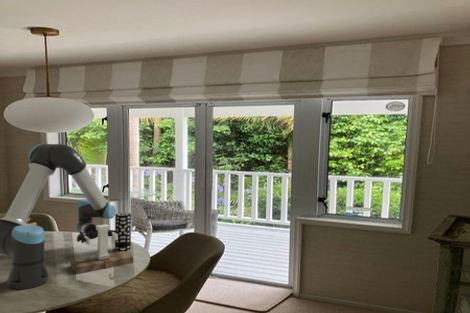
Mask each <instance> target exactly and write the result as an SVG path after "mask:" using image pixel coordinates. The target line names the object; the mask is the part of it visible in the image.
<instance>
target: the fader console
mask: <svg viewBox="0 0 470 313" xmlns="http://www.w3.org/2000/svg"><path fill="white" fill-rule="evenodd" d="M108 254H109V255H110V258H108V259H103V260H99V259H97V258H96V257H95V255H94V256H88V257H83V258H75V259H72V260H70V267H71V269H72V270H73V271H74V272H75V273H76V274H77V275H79V274H83V273H90V272H94V271H99V270H103V269H109V268H113V267H119V266H123V265H128V264H134V256H133V255H131V254H129V252H127V251H126V252H125V251H121V252H117V251H115V252H111V253H108Z"/></svg>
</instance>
